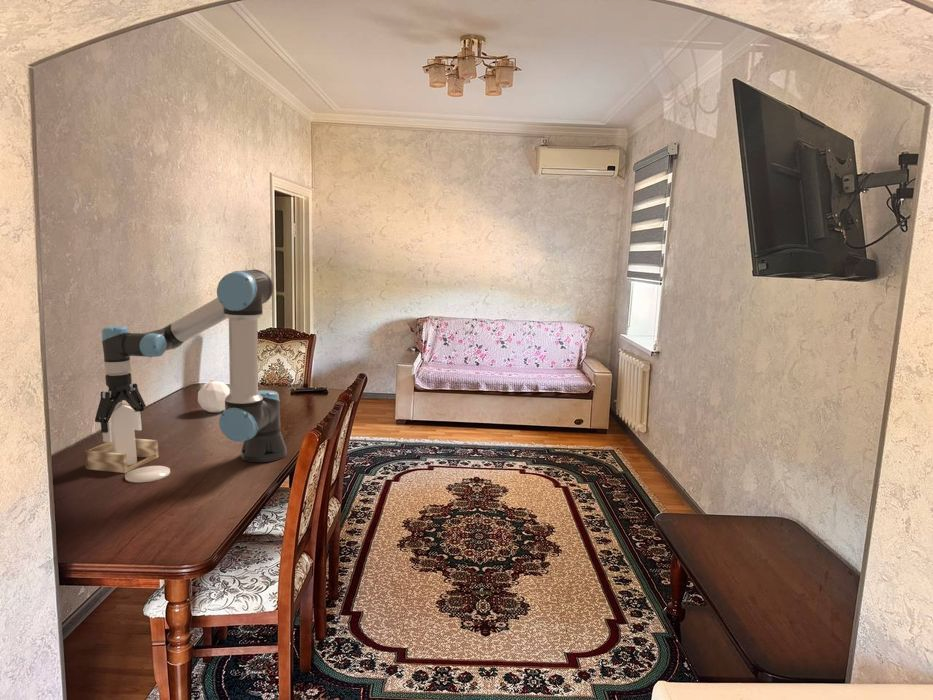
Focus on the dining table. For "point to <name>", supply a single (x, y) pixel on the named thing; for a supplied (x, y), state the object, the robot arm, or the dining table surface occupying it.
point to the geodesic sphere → (213, 396)
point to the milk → (124, 432)
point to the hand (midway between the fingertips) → (123, 435)
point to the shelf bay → (119, 456)
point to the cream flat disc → (147, 474)
